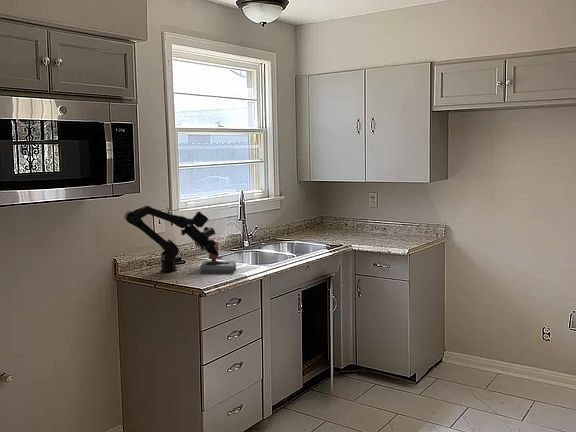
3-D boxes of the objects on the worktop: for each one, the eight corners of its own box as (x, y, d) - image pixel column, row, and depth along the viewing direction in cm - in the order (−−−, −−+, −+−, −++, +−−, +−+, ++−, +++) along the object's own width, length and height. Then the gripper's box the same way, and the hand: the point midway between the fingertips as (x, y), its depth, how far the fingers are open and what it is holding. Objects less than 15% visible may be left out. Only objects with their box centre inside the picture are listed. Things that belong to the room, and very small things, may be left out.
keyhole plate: (200, 273, 299) (200, 265, 299) (204, 268, 312) (204, 261, 312) (232, 273, 299) (232, 265, 299) (235, 268, 312) (235, 260, 311)
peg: (213, 268, 313) (212, 243, 311) (206, 266, 316) (205, 242, 315) (221, 266, 317) (220, 241, 315) (214, 265, 320) (213, 240, 319)
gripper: (211, 224, 304) (232, 244, 310) (200, 220, 321) (220, 240, 327) (196, 241, 301) (218, 261, 307) (186, 236, 318) (206, 255, 324)
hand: (216, 253), depth 316 cm, fingers closed on peg, 5 cm apart
